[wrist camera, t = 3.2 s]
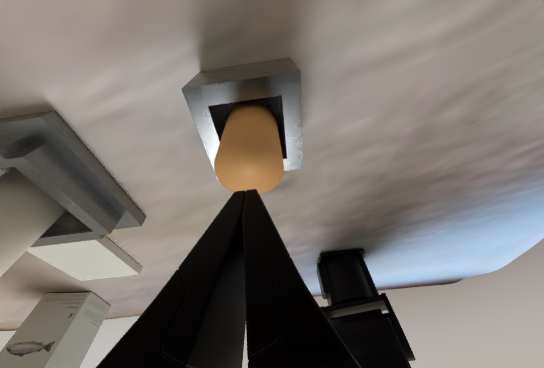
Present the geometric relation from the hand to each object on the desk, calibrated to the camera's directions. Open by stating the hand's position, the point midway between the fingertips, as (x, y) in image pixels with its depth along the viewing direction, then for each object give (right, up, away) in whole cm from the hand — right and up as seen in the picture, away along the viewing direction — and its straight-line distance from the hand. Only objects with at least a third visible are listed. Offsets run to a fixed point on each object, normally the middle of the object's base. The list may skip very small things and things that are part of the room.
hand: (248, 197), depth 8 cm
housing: (-20, 0, +10) cm, 22 cm away
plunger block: (-1, +6, +7) cm, 9 cm away
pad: (-23, -9, +18) cm, 31 cm away
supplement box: (-34, -20, +28) cm, 48 cm away
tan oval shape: (0, +4, +5) cm, 7 cm away
